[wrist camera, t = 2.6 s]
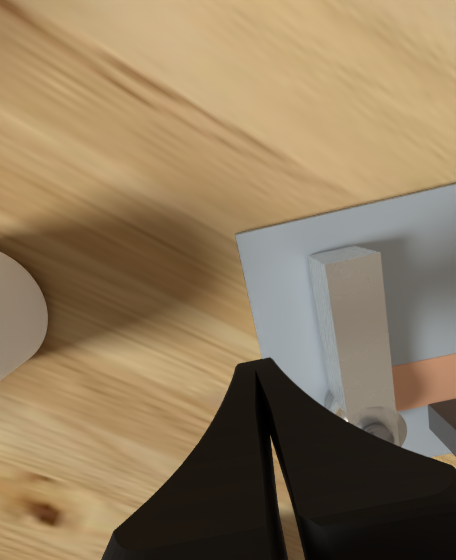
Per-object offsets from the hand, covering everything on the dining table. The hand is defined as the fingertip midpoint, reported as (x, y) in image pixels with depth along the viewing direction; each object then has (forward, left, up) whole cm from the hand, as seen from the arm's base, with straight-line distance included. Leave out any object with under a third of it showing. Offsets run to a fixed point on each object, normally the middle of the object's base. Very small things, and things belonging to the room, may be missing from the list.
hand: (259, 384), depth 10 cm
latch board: (-4, -9, -8) cm, 13 cm away
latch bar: (-3, -6, -6) cm, 9 cm away
